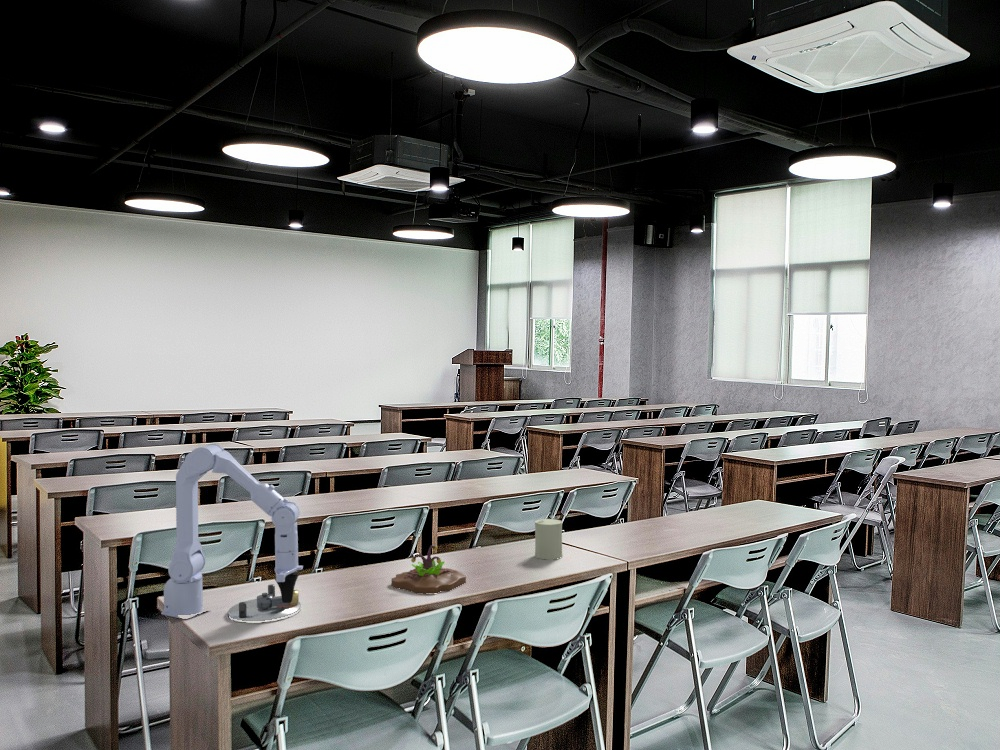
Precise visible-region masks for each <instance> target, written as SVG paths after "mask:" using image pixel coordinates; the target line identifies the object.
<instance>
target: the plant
mask: <svg viewBox="0 0 1000 750" xmlns="http://www.w3.org/2000/svg"><path fill="white" fill-rule="evenodd" d="M432 550H433V551H437V550H438V546H437V545H436V544H432V545H430V546H429V548H428V551H427V555H426V556H427V557H425V556H424V555H422V554H416V555H415V556H413V557H411V559H410V561H411V566H412V567H414V568H413V569H410V570H409V571H405V572H402V573H397V574H395V577H392V578H391V587H392V586H393V588H394V587H395V588H394V589H397V588H400V589H399V590H403V589H404V590H403V591H407V590H408V592H411V591H412V593H414V594H417V593H423V594H422V595H427V594H426V593H438V592H440V591H444V592H450V590H451V591H453V590H455V589H457V588H459V587H461V586H462V584H463V585H464V583H465V584H467V576H466V575H465V574H463V573H462V572H461V571H459V570H455V569H452V568H445V567H444V568H443V565H445V563H446V561H442V559H441V558H440V556H433V557H432V552H431V551H432ZM417 557H419V558H421V560H422V562H420V561H418V562H417V564H418V565H417V564H415V563H416V559H417ZM435 559H436V561H435ZM413 563H414V564H413ZM436 563H437V565H436ZM460 585H461V586H460ZM458 586H459V587H458ZM456 587H457V588H456ZM454 588H455V589H454ZM452 589H453V590H452ZM440 593H441V592H440ZM438 594H439V593H438Z"/></svg>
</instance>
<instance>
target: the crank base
mask: <svg viewBox="0 0 1000 750" xmlns="http://www.w3.org/2000/svg"><path fill="white" fill-rule="evenodd" d="M268 594H271V595H273V597H276V584H268V585H267V592H262V593H261V595H262V596H263V597H265V596H268ZM301 605H302V604H301V602H300V601H299V603H298V604H297V605H285V606H276V607H271V608H267V609H259V608H257V598H254V599H249V600H244V601H240V602H238V603H236V604H235V605H233V606H232V607H230V608H229V609H228V612H227V613H228V614H229V616H230V617H231V618H233V619H237V620H242V621H265V620H272V619H277V618H281V617H285V616H288V615H291V614H293V613H295V612H297V611H298V610H299V609H300V607H302V606H301ZM228 614H227V615H228Z"/></svg>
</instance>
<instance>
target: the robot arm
mask: <svg viewBox="0 0 1000 750" xmlns="http://www.w3.org/2000/svg"><path fill="white" fill-rule="evenodd" d="M209 471H211V473H215V474H225V475H227V476H229V477H230V478H231V479H232V480H233V481H235V482H236V483H237V484H239V485H240V486H241V487H242V488H244V489H245V490H246V491H247V492H249V494H250V501H252V502H253V503H254V504H255V505H256V506H257V507H258V508H260V509H261V510H262V511H263V512H264V513H265V514H266V515H268V516H269V517H271V521H272V524H273V525H274V553H275V554H274V555H275V562H274V563H275V567H274V573H275V576H274V580H275V583H277V587H279V591H280V594H281V595H280V596H281V597H282V601H283V603H291V602H292V599H293V592H294V590H295V585H296V582H297V580H298V578H299V576H300V573H299V572H298V571H302V570H303V568H304V565H299V543H298V541H299V536H298V522H297V521H298V518H299V517H300V509H299V507H298V506H297V504H296V503H295V502H293V501H289V499H288V498H287V497H285V498H284V497H283V496H282V494H280V493H279V492H277V490H275V489H276V486H274V485H273V484H270V485H269V483H267V482H264V483H263V482H262V483H261V482H259V481H258V480H257V478H255V477H254V476H253V475H252V474H251V473H250V472H249V471H248V470H247V469H245V468H244V467H243V466H242V465H241V464H240V463H239V462H238V461H237V459H236V458H235V457H233V455H232V454H231V453H230V452H228V451H227V450H225V449H224V448H223V447H222V446H221V445H219V444H216V443H210V444H206V445H205V446H199V447H196V448H194V449H192V450H191V451H190V452H189V453H188V454H186V455H185V459H184V460H183V462H182V464H181V465H180V467H179V469H178V471H177V473H176V475H175V495H176V496H175V509H176V510H175V514H176V515H175V518H176V520H175V521H176V523H175V524H176V525H175V527H176V529H175V531H176V537H175V539H176V544H175V546H174V548H173V551H172V553H171V562H170V563H169V566H168V572H167V573H168V576H169V577H170V578H169V579H168V580H167V581H166V583H165V585H164V588H163V611H162V612H160V613H161V615H163V616H168V617H172V618H177V619H179V618H178V615H191V614H196V613H199V612H201V611H202V610H203V607H204V605H203V604H204V603H203V601H204V600H203V596H204V595H203V593H204V592H203V574H202V570H203V569H204V567H205V565H206V557H205V555H204V553H203V551H202V550H203V547H202V544H201V542H200V540H199V480H200V479H202V478H203V477H204V476H205V475H206V474H207V473H208V472H209Z"/></svg>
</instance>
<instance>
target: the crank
mask: <svg viewBox="0 0 1000 750" xmlns="http://www.w3.org/2000/svg"><path fill="white" fill-rule="evenodd" d="M256 599H257V608H259V609H267V608H271V607H276V606H285V605H297V604H298V603H299V602H300V601H299V599H300V598H299V590H298V589H294V592H293V599H292V602H291V603H283V601H282V597H281V595H280V596H279V595H278V596H276V595H275V597H273V595H271V594H268V596H265V597H263V596H262V594H260V595H257V596H256Z"/></svg>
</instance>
